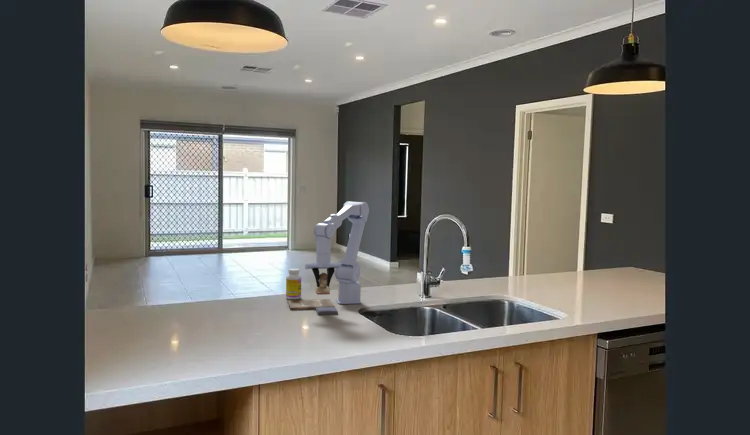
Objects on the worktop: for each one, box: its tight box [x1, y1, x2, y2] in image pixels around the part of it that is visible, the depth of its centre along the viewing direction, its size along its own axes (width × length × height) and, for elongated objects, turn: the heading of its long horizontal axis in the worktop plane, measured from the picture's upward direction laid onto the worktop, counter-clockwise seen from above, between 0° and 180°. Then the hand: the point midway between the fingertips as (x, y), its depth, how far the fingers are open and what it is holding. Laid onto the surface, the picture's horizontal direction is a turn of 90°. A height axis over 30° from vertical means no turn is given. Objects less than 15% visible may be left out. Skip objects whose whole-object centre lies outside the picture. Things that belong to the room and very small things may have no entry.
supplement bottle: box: [285, 268, 302, 300], centre depth 236 cm, size 7×7×13 cm
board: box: [287, 298, 336, 311], centre depth 224 cm, size 18×13×1 cm
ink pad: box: [314, 306, 339, 316], centre depth 214 cm, size 8×8×1 cm
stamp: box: [315, 272, 331, 296], centre depth 215 cm, size 5×5×8 cm
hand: (322, 286), depth 216 cm, fingers closed on stamp, 3 cm apart
